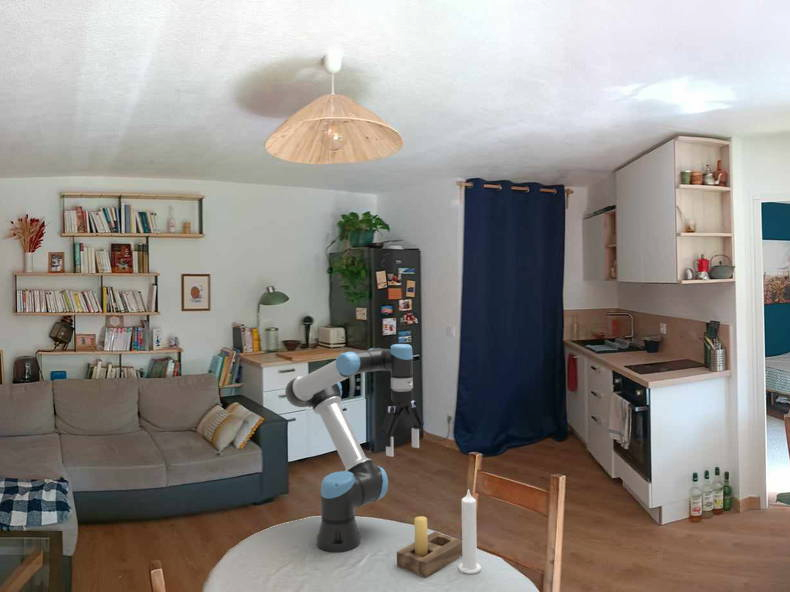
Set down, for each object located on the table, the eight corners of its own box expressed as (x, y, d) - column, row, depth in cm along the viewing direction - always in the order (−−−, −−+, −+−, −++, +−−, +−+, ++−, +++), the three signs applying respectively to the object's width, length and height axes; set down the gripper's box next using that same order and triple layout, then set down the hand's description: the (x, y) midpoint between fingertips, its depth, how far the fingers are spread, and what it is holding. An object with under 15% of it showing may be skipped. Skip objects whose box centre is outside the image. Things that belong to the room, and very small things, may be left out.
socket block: (396, 565, 183) (396, 551, 183) (434, 544, 198) (434, 531, 198) (426, 577, 175) (426, 563, 175) (463, 554, 190) (463, 541, 190)
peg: (412, 566, 182) (411, 519, 182) (420, 561, 185) (419, 515, 185) (422, 569, 180) (421, 522, 180) (430, 565, 183) (429, 518, 183)
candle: (480, 575, 176) (479, 493, 176) (457, 573, 177) (456, 492, 177) (481, 564, 183) (480, 486, 183) (459, 562, 184) (458, 485, 184)
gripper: (385, 395, 184) (386, 461, 184) (432, 385, 203) (433, 445, 203) (369, 393, 189) (369, 457, 189) (416, 383, 208) (417, 442, 208)
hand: (403, 451), depth 196 cm, fingers open, 13 cm apart
